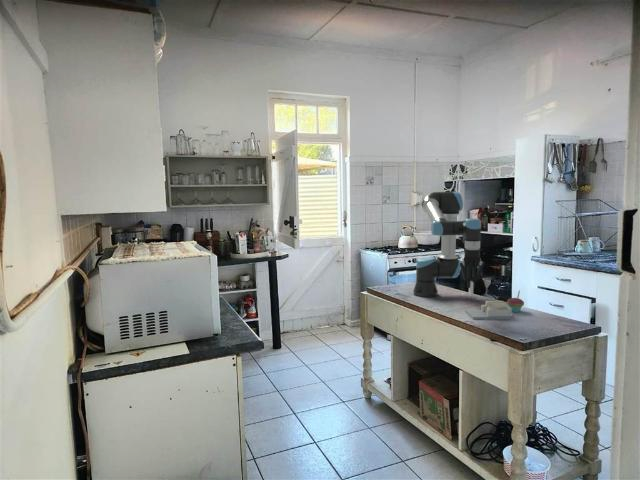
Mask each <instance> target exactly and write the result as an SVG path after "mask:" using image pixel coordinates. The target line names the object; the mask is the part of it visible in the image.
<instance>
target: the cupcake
mask: <svg viewBox="0 0 640 480" xmlns="http://www.w3.org/2000/svg"><path fill="white" fill-rule="evenodd" d="M520 293H521V289H519V290H518V293H517V297H510V298H508V299H507V300H506V303H507V306H509V307H510V308H512V312H513V313H519V312H521V309H522V307H523V306H524V305H525V301H524V300H522V299H521V298H519V297H520Z"/></svg>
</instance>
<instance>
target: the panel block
mask: <svg viewBox="0 0 640 480" xmlns="http://www.w3.org/2000/svg"><path fill="white" fill-rule="evenodd" d="M484 305H485V312H486V313H487V309H507V306H508V304H507V302H506V301H504V300H485V304H484Z"/></svg>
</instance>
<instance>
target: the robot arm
mask: <svg viewBox="0 0 640 480" xmlns="http://www.w3.org/2000/svg"><path fill="white" fill-rule="evenodd" d="M421 207H422V210H423V211H424V213H426V215H427V216H428V218H429V220H430V223H431V224H430V231H431V235H432V236H438V237H441V242H440V243H441V245H440V246H441V247H440V248H441V249H440V250H441V251H440V255H439V256H438V259H436V257H433V256H431V257H422V258H419V259H417V261H416V263H415V265H416V267H415V268H416V270H415V271H416V272H415V273H416V278H415V285H414V288H413V292H412V293H413V295H414V296H416V297H423V298H424V297H425V298H432V297H437V296H438V295H439V290H438V288H437V285H436V279H456V278H458V277H459V275H460V273H461V274H462V278H463V280H464V281H466V284H467V285H466V288H468V294H469V296H470V295H472V296H473V295H474V289H475V288H476V282H479V281H480V278H481V275H482V273H483V272H482V271H483V268H484V266H485V265H486V262H484V261H482V260H481V250H480V249H481V237H482V236H481V235H482V234H481V233H482V221H481V219H480V218H466V219H465V220H458V221H457V217H458V216H459V215H460V212H461V211H462V210H463V208H464V202H463V196H462V195H461V192H459V191H433V192H431V193H429V194H426V196H425V197H424V198H423V199H422V202H421ZM457 236H464V250H463V251H464V253H463V254H464V257H463V260H460V259H458V258H459V257H458V255H457V254H456V246H457V245H456V243H457V241H456V240H457ZM465 265H466V269H465ZM477 266H478V269H477Z"/></svg>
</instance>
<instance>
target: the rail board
mask: <svg viewBox="0 0 640 480" xmlns="http://www.w3.org/2000/svg"><path fill="white" fill-rule="evenodd" d="M480 306H481V307H480V308H481V309H465V310H464V313H465V314H466V315H468V316H469V317H470V318H471V320H508V321H509V320H510V319H515V318H514V316H513V315H512V308H510V307H509V305H507V309H487V313H486V312H485V304H481V305H480Z"/></svg>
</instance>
